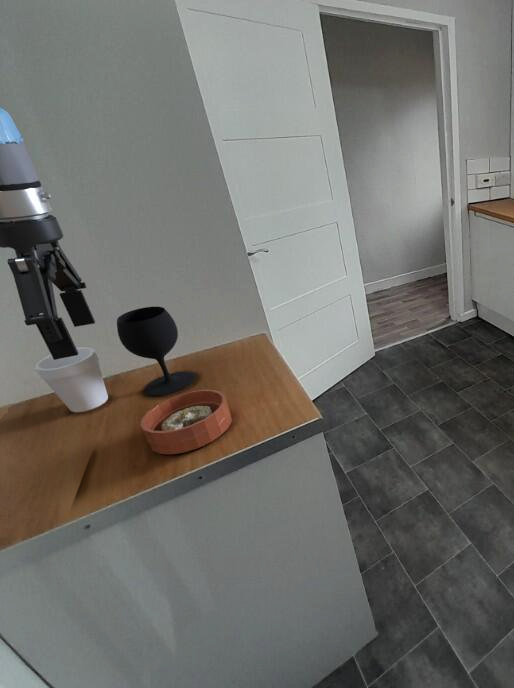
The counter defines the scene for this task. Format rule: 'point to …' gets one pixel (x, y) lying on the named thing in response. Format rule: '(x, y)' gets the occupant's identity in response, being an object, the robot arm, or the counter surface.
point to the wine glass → (153, 345)
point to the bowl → (188, 435)
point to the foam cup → (75, 379)
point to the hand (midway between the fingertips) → (76, 339)
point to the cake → (186, 417)
